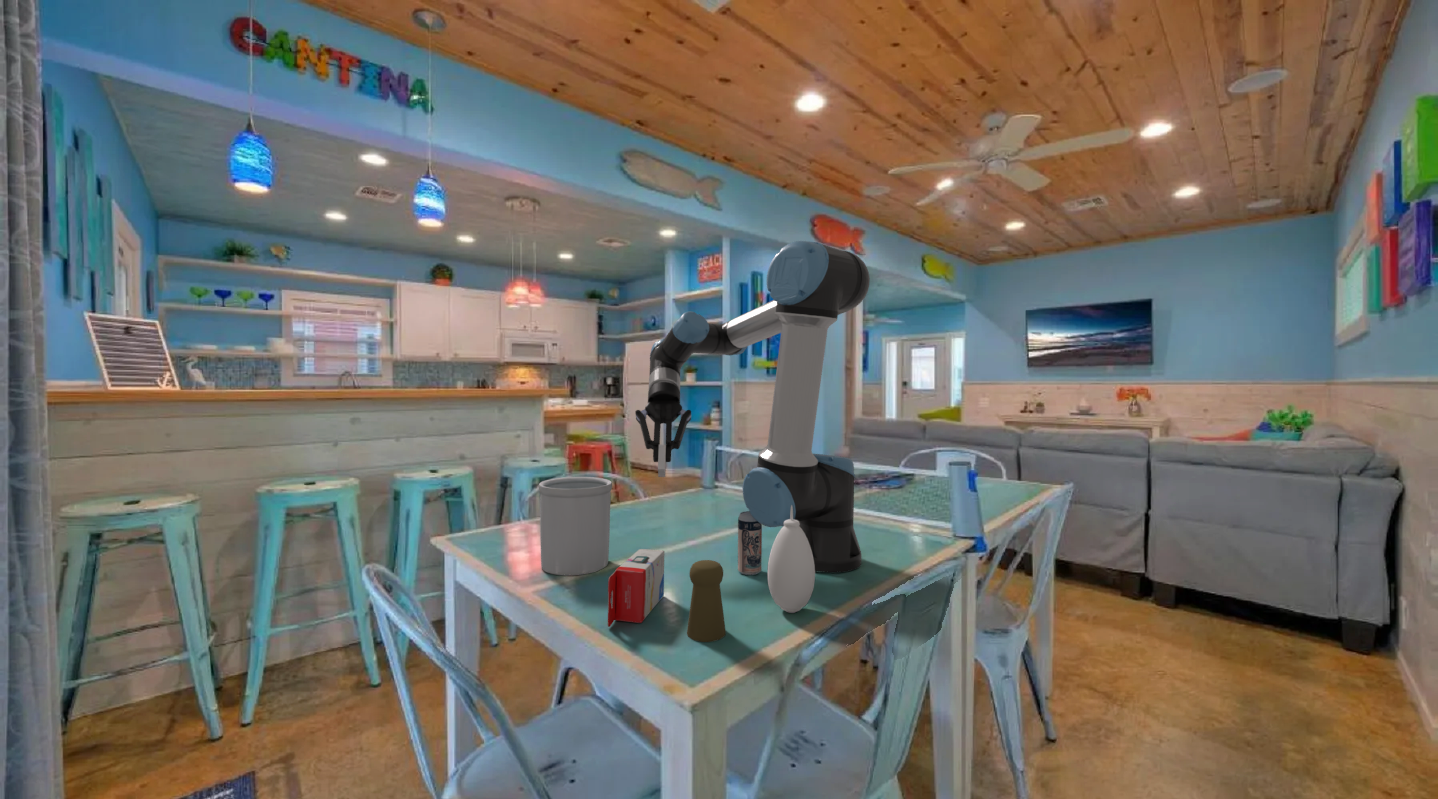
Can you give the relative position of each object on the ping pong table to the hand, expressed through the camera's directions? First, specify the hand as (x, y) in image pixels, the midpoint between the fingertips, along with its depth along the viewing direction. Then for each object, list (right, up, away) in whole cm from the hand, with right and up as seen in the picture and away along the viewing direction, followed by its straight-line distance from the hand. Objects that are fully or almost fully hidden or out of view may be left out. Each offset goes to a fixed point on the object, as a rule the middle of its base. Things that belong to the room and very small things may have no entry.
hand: (661, 472), depth 115 cm
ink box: (0, -16, -15) cm, 22 cm away
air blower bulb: (+24, -21, -22) cm, 38 cm away
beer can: (+18, -20, -3) cm, 27 cm away
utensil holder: (-18, -20, +1) cm, 27 cm away
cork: (+10, -21, -30) cm, 38 cm away
